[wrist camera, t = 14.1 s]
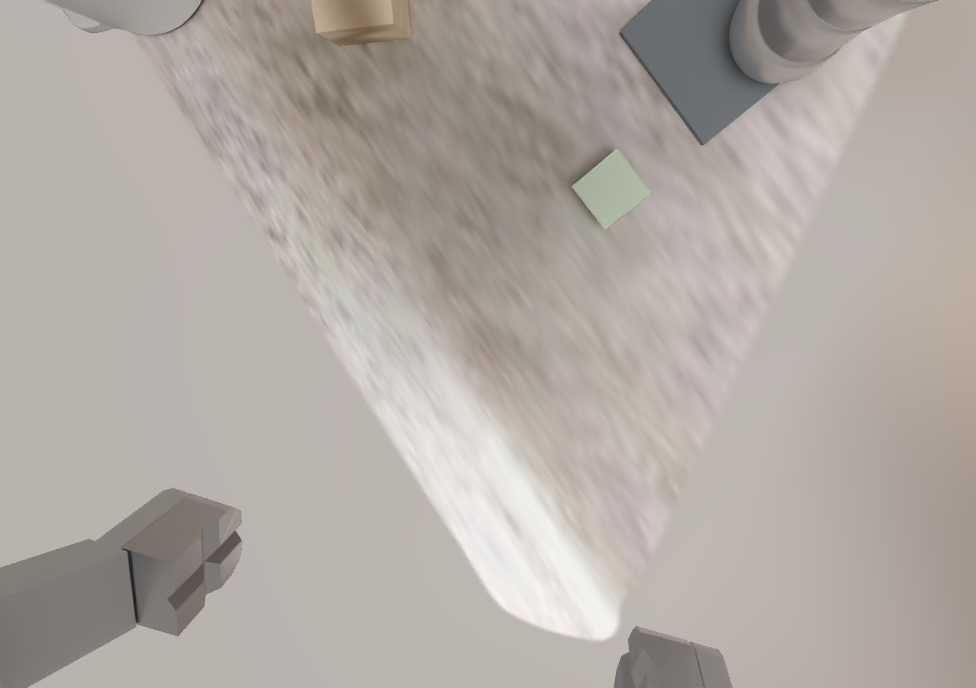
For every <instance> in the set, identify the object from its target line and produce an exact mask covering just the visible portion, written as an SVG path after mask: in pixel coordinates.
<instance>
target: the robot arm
mask: <svg viewBox="0 0 976 688" xmlns="http://www.w3.org/2000/svg"><path fill="white" fill-rule="evenodd" d="M41 1H43V2H46V3H48V4H50V5H53V6H55V7H58V8H61V9H62V10H63V11H64V13H65V14H66V16H67V17H68V18H69V20H70V21H71V22H72V23H73V25H75V26H76V27H78V28H80V29H82V30H85V31H87V32H90V33H97V32H103V31H107V30H110V29H113V28H116V29H122V30H126V31H129V32H133V33H137V34H142V35H157V34H162V33H166V32H169V31H171V30H173V29H175V28H177V27H179V26H180V25H181V24H183V23H184V22H185V21H186V20H187V19H188V18H189V17H190V16H191V15H192V14H193V13H194V12H195V10H196V9H197V7H198V6H199V4H200V2H201V1H202V0H41ZM240 524H242V520H241V511H240V510H238V509H236V508H234V507H231V506H228V505H225V504H221V503H219V502H216V501H213V500H209V499H206V498H203V497H200V496H197V495H193V494H190V493H187V492H184V491H181V490H178V489H174V488H171V489H168V490H164V491H163V492H161V493H159V494H158V495H157V496H155V497H154V498H153V499H151V500H150V501H149V502H147V503H146V504H145V505H144V506H142V507H141V508H139V509H138V510H137V511H135V512H134V513H133V514H131V515H130V516H129V517H127V518H126V519H125V520H123V521H122V522H121V523H119V524H118V525H117V526H115V527H114V528H113V529H111V530H110V531H108V532H107V533H106V534H104V535H103V536H102V537H101V538H99V539H98V540H96V541H94V540H90V539H87V540H84V541H82V542H78V543H75V544H72V545H69V546H66V547H63V548H60V549H56V550H53V551H50V552H47V553H44V554H41V555H38V556H35V557H32V558H29V559H26V560H22V561H19V562H16V563H13V564H10V565H7V566H4V567H1V568H0V688H27V687H29V686H31V685H32V684H34V683H36V682H38V681H39V680H41V679H43V678H45V677H47V676H49V675H51V674H52V673H54V672H56V671H58V670H60V669H61V668H63V667H65V666H67V665H69V664H70V663H72V662H74V661H76V660H78V659H79V658H81V657H83V656H85V655H87V654H88V653H90V652H92V651H94V650H96V649H97V648H99V647H101V646H103V645H104V644H106V643H108V642H110V641H112V640H114V639H115V638H117V637H119V636H121V635H123V634H124V633H126V632H128V631H130V630H131V629H133V628H135V627H136V624H138V625H141V626H145V627H148V628H151V629H155V630H158V631H162V632H165V633H169V634H172V635H175V636H179V635H180V633H181V632H182V631H183V630H184V629H185V628H186V627H187V626H188V625H189V623H190V622H191V621H192V620H193V619H194V617H196V615H197V614H198V613H199V612H200V611H201V610H202V609H203V608H204V605H205V595H206V594H208V593H211V592H213V591H215V590H217V589H219V588H221V587H222V586H223V585H224V583H225V582H226V581H227V580H228V579H229V577H230V576H231V575H232V573H233V571H234V569H235V567H236V566H237V564H238V562H239V558H240V555H241V551H242V540H241V538H240V537H239V535H238V534H237V532H236V531H235V530H236V529H237V528H238V527H239V526H240ZM628 643H629V652H628V653H626V654H624V655H623V656H621V659H620V662H619V665H618V667H617V671H616V677H615V683H614V688H733V687H732V684H731V681H730V677H729V674H728V671H727V668H726V664H725V661H724V658H723V655H722V654H721V652H720V651H719V650H717V649H714V648H710V647H707V646H703V645H700V644H696V643H693V642H688V641H687V640H683V639H680V638H676V637H673V636H669V635H666V634H662V633H658V632H655V631H652V630H648V629H645V628H641V627H638V626H636V627H635V628H634V629H633V630H632V632H631V635H630V637H629V639H628Z"/></svg>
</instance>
